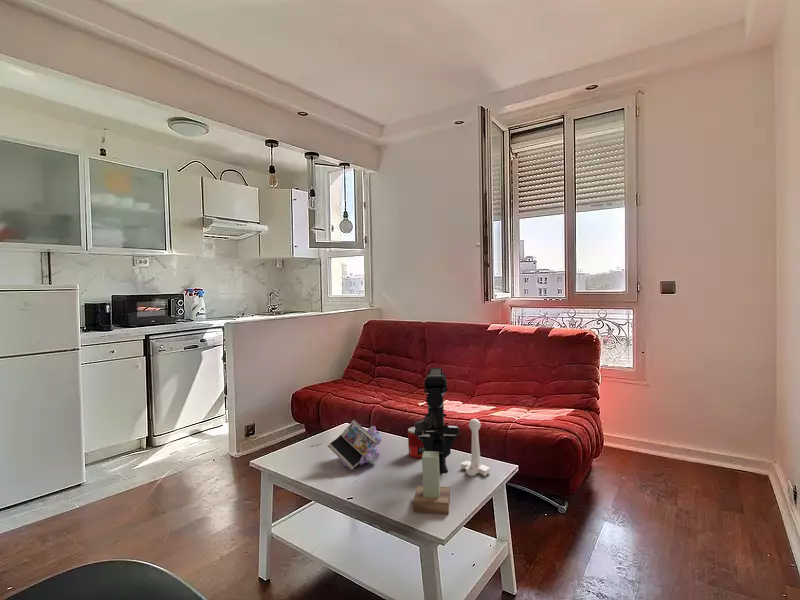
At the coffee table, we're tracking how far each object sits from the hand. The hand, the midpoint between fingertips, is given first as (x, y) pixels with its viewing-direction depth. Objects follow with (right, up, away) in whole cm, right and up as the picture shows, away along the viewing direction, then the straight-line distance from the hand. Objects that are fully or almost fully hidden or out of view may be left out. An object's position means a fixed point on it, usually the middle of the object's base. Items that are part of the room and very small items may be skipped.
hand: (436, 457), depth 148 cm
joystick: (+15, -11, +14) cm, 23 cm away
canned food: (-5, -11, +33) cm, 35 cm away
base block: (-2, -12, -9) cm, 15 cm away
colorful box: (-30, -13, +28) cm, 43 cm away
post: (-2, -8, -9) cm, 13 cm away
